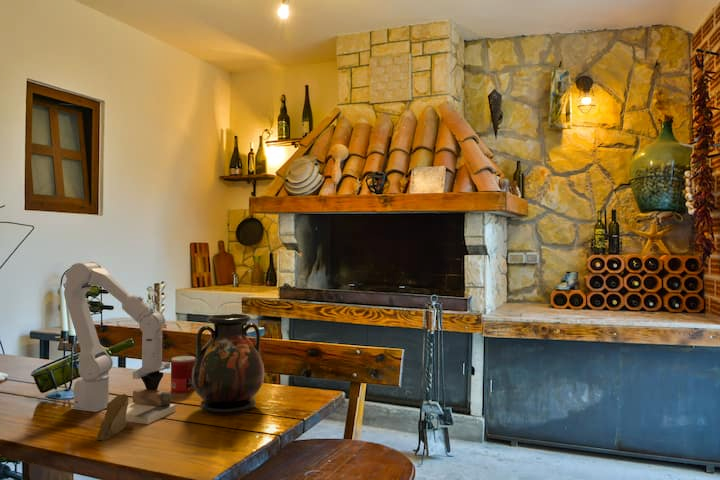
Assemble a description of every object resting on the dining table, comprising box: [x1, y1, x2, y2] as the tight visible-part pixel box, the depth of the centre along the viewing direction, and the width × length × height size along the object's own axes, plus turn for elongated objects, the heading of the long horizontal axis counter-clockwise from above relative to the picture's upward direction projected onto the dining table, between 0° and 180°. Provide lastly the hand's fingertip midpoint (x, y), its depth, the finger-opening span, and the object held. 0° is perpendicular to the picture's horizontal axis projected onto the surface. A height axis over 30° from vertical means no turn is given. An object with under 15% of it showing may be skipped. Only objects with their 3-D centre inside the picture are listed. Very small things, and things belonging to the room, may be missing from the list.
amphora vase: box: [192, 313, 265, 416], centre depth 165 cm, size 22×22×28 cm
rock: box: [95, 393, 129, 441], centre depth 142 cm, size 11×9×10 cm
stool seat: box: [126, 402, 176, 425], centre depth 157 cm, size 13×13×2 cm
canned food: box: [170, 355, 196, 394], centre depth 184 cm, size 8×8×11 cm
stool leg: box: [132, 388, 172, 406], centre depth 162 cm, size 12×3×4 cm, turn 72°
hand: (151, 397), depth 165 cm, fingers closed
